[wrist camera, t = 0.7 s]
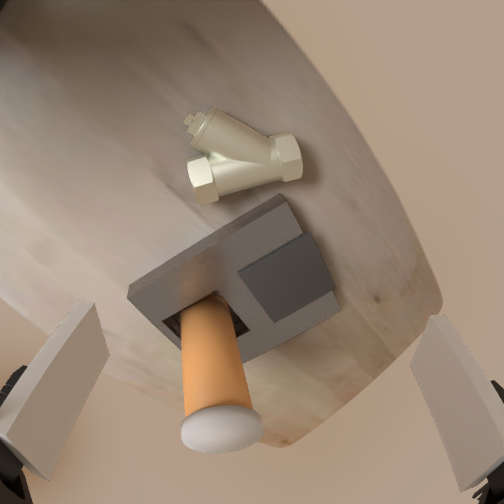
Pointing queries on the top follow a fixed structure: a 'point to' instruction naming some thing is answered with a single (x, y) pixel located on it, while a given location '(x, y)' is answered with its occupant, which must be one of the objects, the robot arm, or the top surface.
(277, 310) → the pad
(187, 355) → the orange pill bottle
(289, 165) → the pipe fitting
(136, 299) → the plate
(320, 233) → the top surface
